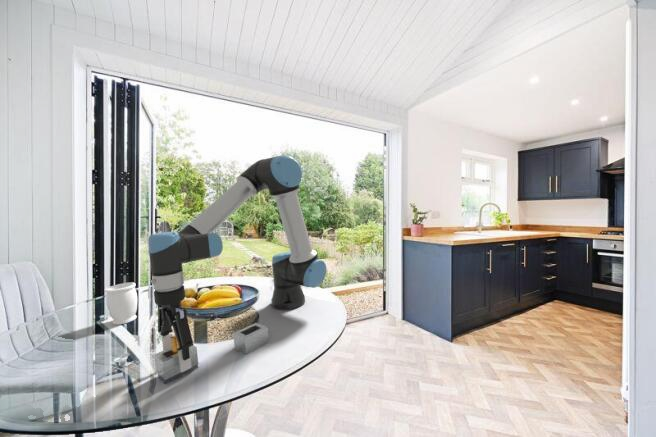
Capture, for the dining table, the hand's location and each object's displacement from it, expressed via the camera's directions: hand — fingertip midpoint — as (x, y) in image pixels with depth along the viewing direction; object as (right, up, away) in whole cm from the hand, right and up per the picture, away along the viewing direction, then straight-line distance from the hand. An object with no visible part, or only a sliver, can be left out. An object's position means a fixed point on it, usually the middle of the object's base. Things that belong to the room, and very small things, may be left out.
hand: (177, 362), depth 82 cm
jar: (-43, -2, +39) cm, 58 cm away
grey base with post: (0, -3, 0) cm, 3 cm away
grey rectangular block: (0, -1, 0) cm, 1 cm away
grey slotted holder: (+18, -1, +13) cm, 22 cm away
